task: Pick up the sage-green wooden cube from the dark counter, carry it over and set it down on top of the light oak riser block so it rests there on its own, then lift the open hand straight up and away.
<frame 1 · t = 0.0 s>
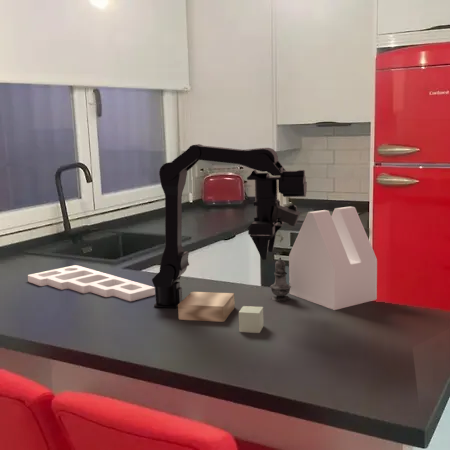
hand: (267, 255, 165), 15 cm above the worktop, tool pointing down, fingers open, 9 cm apart
milk carton: (332, 297, 177), on the worktop
sage cube: (251, 329, 152), on the worktop
oak riser block: (207, 313, 165), on the worktop
holder: (88, 289, 195), on the worktop
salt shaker: (280, 299, 177), on the worktop
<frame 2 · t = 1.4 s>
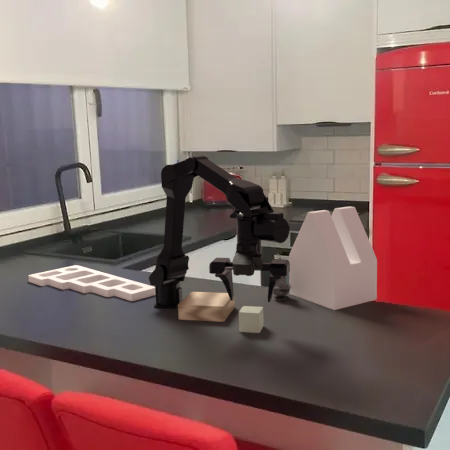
hand: (250, 301, 151), 7 cm above the worktop, tool pointing down, fingers open, 9 cm apart
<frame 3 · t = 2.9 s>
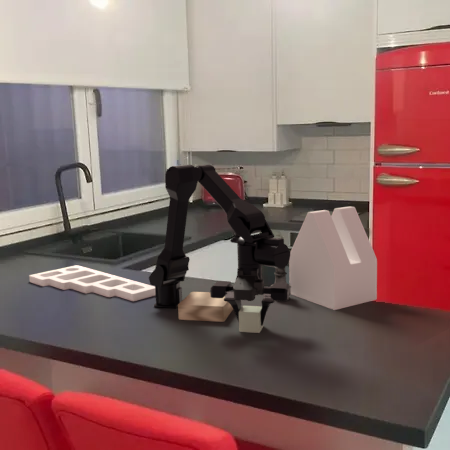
hand: (251, 324, 152), 1 cm above the worktop, tool pointing down, fingers closed on sage cube, 5 cm apart
sage cube: (251, 328, 152), on the worktop, touching gripper
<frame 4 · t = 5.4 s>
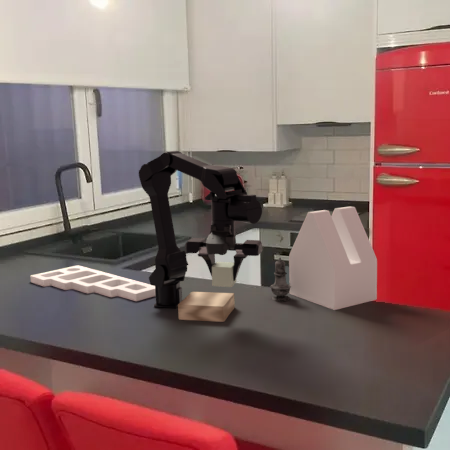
hand: (224, 279, 158), 11 cm above the worktop, tool pointing down, fingers closed on sage cube, 5 cm apart
sage cube: (224, 283, 158), point 10 cm above the worktop, touching gripper
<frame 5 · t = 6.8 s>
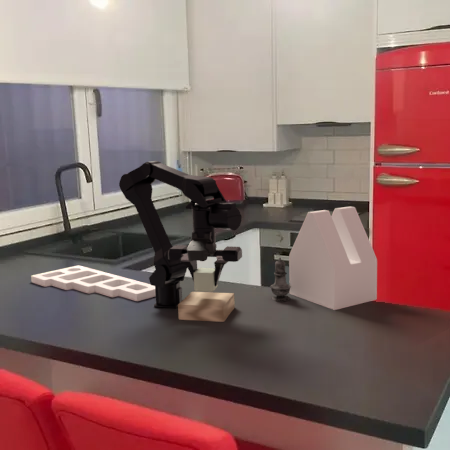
hand: (206, 285, 164), 8 cm above the worktop, tool pointing down, fingers closed on sage cube, 5 cm apart
sage cube: (206, 288, 164), point 7 cm above the worktop, touching gripper
when the fingers open (6 cm above the worktop, at t = 7.9 s): sage cube drops 1 cm, resting on oak riser block.
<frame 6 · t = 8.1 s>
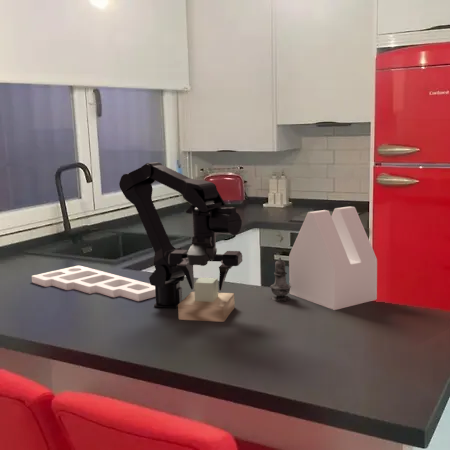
hand: (206, 289, 164), 6 cm above the worktop, tool pointing down, fingers open, 7 cm apart
sage cube: (206, 298, 165), point 4 cm above the worktop, touching oak riser block
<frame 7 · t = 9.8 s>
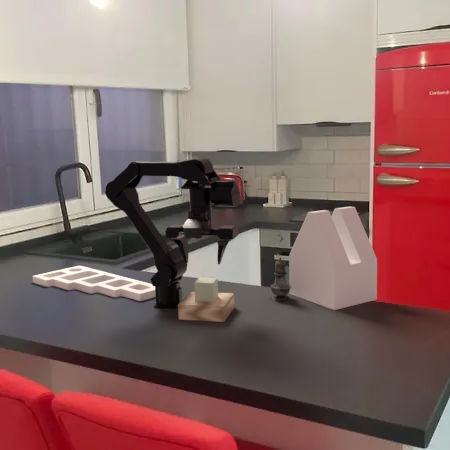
hand: (202, 263, 168), 12 cm above the worktop, tool pointing down, fingers open, 9 cm apart
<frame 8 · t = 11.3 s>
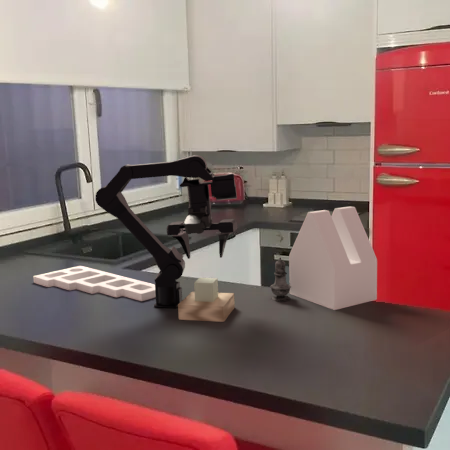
hand: (205, 257, 172), 13 cm above the worktop, tool pointing down, fingers open, 9 cm apart
at the end: sage cube inside the target area on the oak riser block (0.1 cm from its centre), point 4.0 cm above the oak riser block's base; sage cube tilted 0°; the gripper is holding nothing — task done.
